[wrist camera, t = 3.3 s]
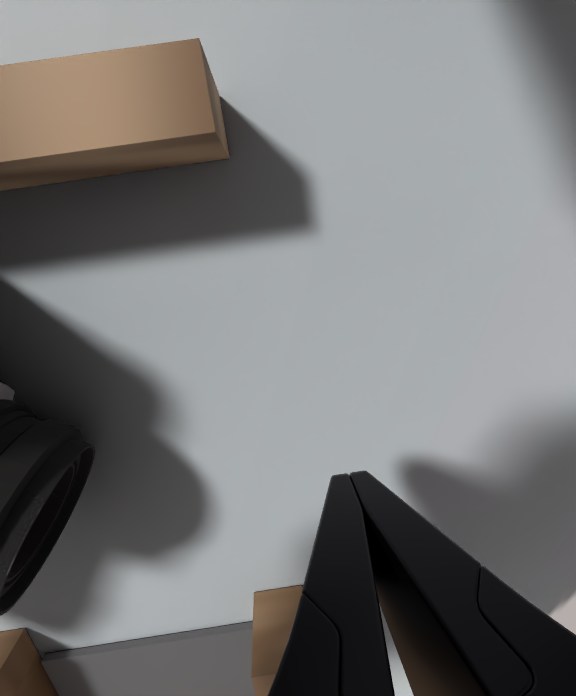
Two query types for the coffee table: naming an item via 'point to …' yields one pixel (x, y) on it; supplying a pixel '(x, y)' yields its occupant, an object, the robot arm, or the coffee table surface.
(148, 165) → the trap box
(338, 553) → the robot arm
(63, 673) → the mats
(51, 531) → the camera
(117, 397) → the coffee table surface
